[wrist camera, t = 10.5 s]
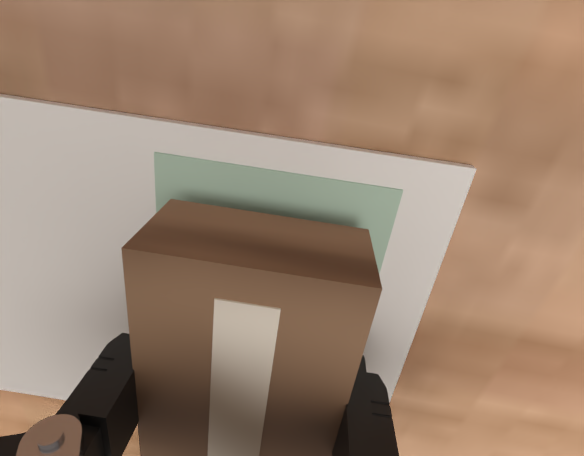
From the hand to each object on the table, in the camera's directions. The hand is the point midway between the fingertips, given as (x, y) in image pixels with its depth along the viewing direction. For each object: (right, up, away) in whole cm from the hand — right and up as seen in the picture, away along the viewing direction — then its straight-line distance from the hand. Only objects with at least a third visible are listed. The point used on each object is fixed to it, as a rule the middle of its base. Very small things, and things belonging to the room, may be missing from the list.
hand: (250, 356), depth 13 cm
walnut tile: (0, 0, +1) cm, 1 cm away
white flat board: (-7, +2, +2) cm, 7 cm away
